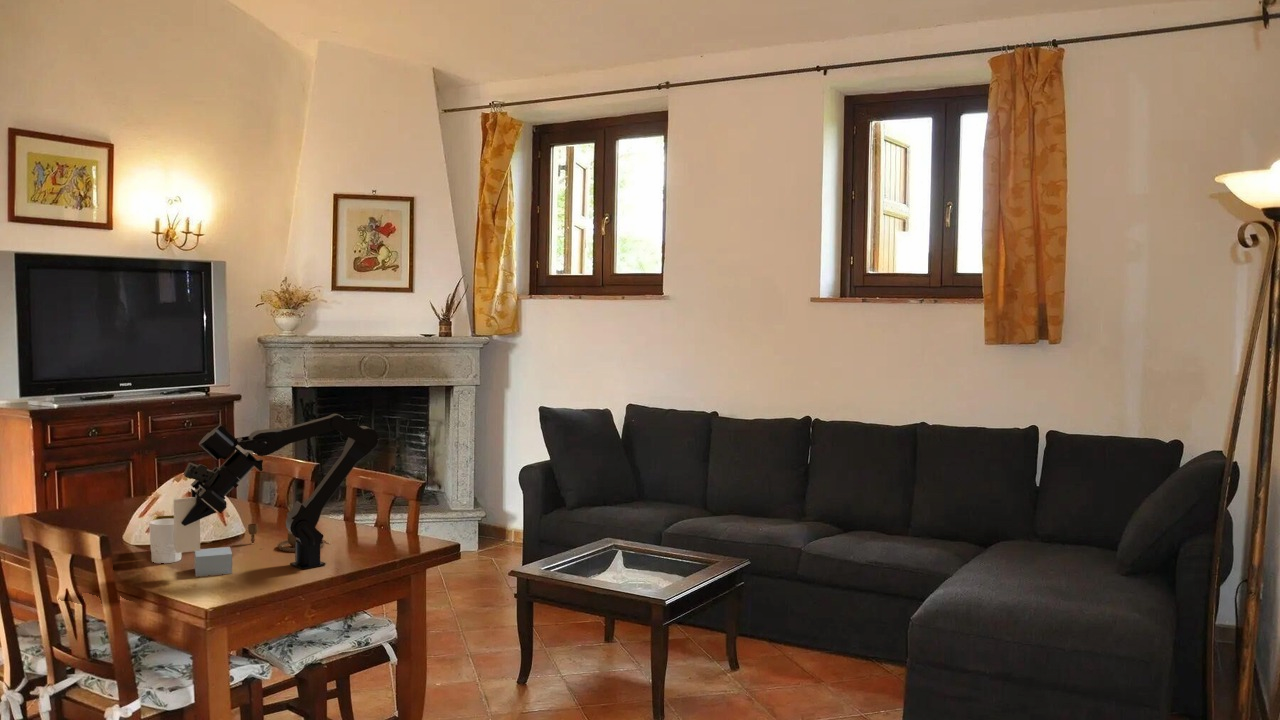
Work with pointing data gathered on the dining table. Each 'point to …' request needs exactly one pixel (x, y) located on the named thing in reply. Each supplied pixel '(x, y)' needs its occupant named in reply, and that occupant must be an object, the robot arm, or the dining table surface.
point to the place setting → (291, 540)
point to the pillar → (185, 527)
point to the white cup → (163, 541)
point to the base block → (213, 561)
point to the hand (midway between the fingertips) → (181, 522)
